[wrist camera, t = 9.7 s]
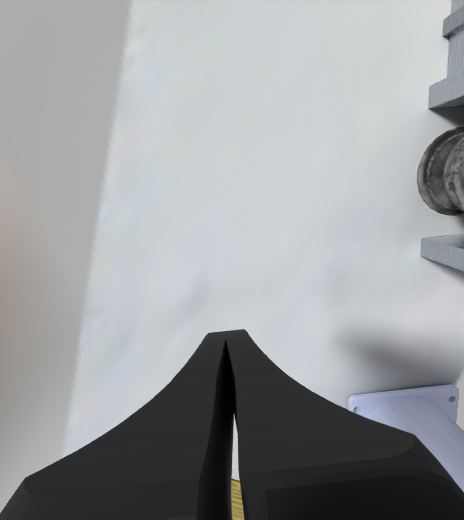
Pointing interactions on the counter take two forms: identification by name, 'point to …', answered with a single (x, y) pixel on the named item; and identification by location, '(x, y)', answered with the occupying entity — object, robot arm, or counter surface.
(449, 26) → the grey divided tray
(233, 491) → the candy box
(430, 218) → the counter surface
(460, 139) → the grey tapered rounded piece
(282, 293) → the counter surface
